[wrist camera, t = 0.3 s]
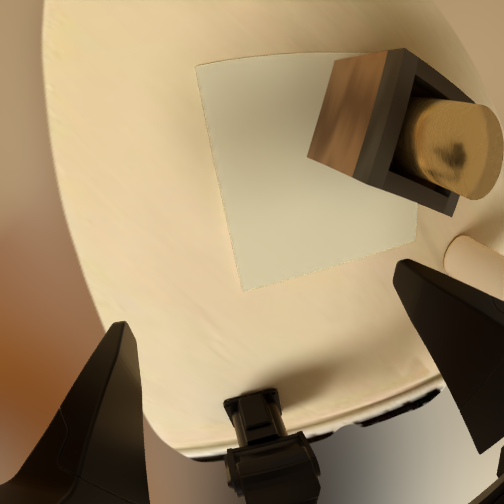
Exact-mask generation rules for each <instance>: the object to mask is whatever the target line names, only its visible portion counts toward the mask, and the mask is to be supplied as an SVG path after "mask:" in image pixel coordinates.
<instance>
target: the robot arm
mask: <svg viewBox="0 0 504 504" xmlns="http://www.w3.org/2000/svg"><path fill="white" fill-rule="evenodd" d="M393 285H394V287H395V289H396V291H397V293H398V295H399V297H400V300H401V302H402V304H403V306H404V308H405V310H406V312H407V314H408V316H409V318H410V320H411V322H412V323H413V325H414V327H415V329H416V330H417V332H418V334H419V335H420V337H421V339H422V341H423V342H424V344H425V346H426V348H427V349H428V351H429V353H430V355H431V356H432V358H433V360H434V362H435V364H436V366H437V367H438V369H439V371H440V373H441V375H442V377H443V379H444V381H445V383H446V384H447V386H448V388H449V390H450V392H451V394H452V396H453V398H454V400H455V402H456V404H457V406H458V408H459V410H460V413H461V415H462V417H463V419H464V421H465V424H466V426H467V428H468V430H469V432H470V435H471V437H472V439H473V441H474V444H475V446H476V449H477V451H478V453H479V454H482V453H483V452H485V451H486V450H487V449H489V448H490V447H491V446H493V445H494V444H495V443H497V442H498V441H499V440H500V439H502V438H503V437H504V301H502V300H500V299H498V298H496V297H494V296H492V295H489V294H487V293H485V292H483V291H481V290H479V289H477V288H474V287H472V286H470V285H468V284H466V283H463V282H461V281H459V280H457V279H455V278H452V277H450V276H448V275H445V274H443V273H441V272H439V271H436V270H434V269H432V268H429V267H427V266H425V265H422V264H420V263H418V262H415V261H413V260H410V259H403V260H400V261H398V262H397V264H396V268H395V272H394V276H393ZM223 405H224V408H225V410H226V412H227V414H228V417H229V419H230V421H231V423H232V425H233V427H234V428H235V431H236V435H237V439H238V443H239V448H234V449H232V448H230V449H227V454H226V455H225V456H224V461H225V466H226V473H227V482H228V486H229V487H230V488H232V489H234V491H235V492H236V493H237V495H238V497H239V498H241V497H245V500H246V503H247V504H317V500H318V496H319V493H320V488H321V487H320V484H319V481H318V477H320V468H319V464H318V461H317V459H316V457H315V454H314V452H313V450H312V449H311V447H310V445H309V443H308V441H307V439H306V437H305V435H304V434H303V432H302V431H299V432H297V433H295V434H291V435H288V434H287V431H286V428H285V426H284V423H283V420H282V418H281V415H282V412H281V407H280V402H279V397H278V392H277V389H275V388H273V389H269V390H266V391H262V392H258V393H255V394H251V395H247V396H244V397H240V398H236V399H232V400H228V401H225V402H224V403H223ZM497 476H498V479H497V480H496V481H495V482H494V483H493V484H492V485H491V486H489V487H488V488H487V489H486V490H485V491H483V492H482V493H481V494H480V495H479V496H477V497H476V498H475V499H474V500H472V501H471V502H470V503H468V504H504V446H503V447H502V448H501V453H500V459H499V465H498V470H497ZM0 504H150V500H149V492H148V483H147V473H146V462H145V449H144V434H143V411H142V386H141V378H140V369H139V360H138V351H137V343H136V339H135V337H134V335H133V333H132V331H131V329H130V327H129V325H128V323H127V322H126V321H120V322H115V323H113V324H112V325H111V327H110V328H109V330H108V331H107V333H106V334H105V336H104V337H103V339H102V340H101V342H100V343H99V345H98V346H97V348H96V349H95V351H94V352H93V354H92V355H91V357H90V359H89V360H88V362H87V363H86V365H85V366H84V368H83V370H82V371H81V373H80V374H79V376H78V378H77V379H76V381H75V382H74V384H73V386H72V387H71V389H70V391H69V392H68V394H67V396H66V397H65V399H64V401H63V402H62V404H61V406H60V409H58V411H57V413H56V414H55V416H54V418H53V419H52V421H51V423H50V424H49V426H48V428H47V429H46V431H45V433H44V434H43V436H42V437H41V439H40V440H39V442H38V443H37V445H36V446H35V448H34V449H33V451H32V452H31V453H30V455H29V456H28V458H27V459H26V461H25V462H24V464H23V466H22V467H21V469H20V470H19V471H18V473H17V474H16V475H15V476H14V477H13V478H12V479H11V480H9V481H7V482H6V483H4V484H1V485H0Z"/></svg>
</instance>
